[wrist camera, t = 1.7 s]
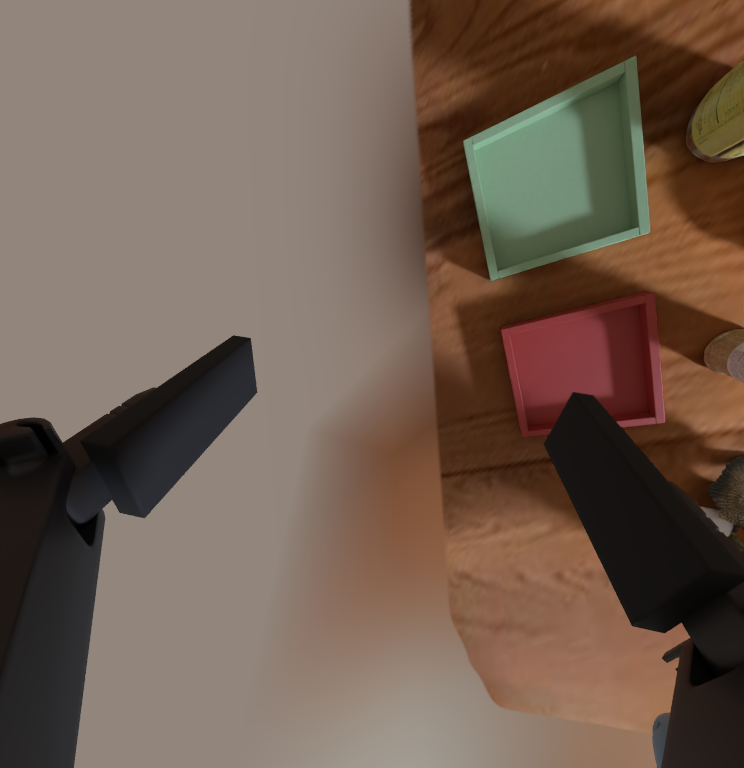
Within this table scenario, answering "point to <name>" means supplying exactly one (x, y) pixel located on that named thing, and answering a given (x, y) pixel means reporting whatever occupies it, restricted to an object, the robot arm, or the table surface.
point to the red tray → (587, 362)
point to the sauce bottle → (719, 120)
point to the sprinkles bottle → (727, 354)
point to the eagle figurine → (729, 501)
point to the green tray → (562, 174)
